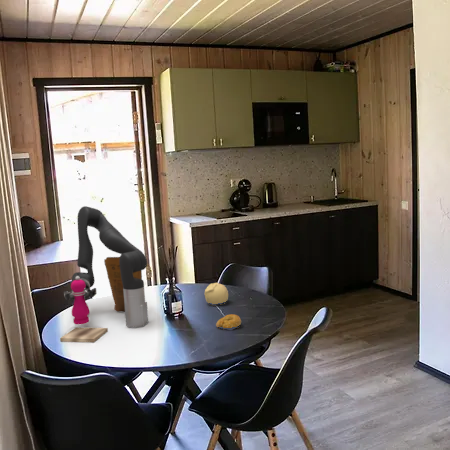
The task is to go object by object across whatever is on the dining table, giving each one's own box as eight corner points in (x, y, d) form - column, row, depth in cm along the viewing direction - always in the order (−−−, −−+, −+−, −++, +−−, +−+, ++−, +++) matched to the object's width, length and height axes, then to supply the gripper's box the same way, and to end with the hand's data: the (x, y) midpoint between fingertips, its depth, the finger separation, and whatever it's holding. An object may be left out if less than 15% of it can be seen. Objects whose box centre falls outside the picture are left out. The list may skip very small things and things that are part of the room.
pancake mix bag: (142, 314, 230) (137, 257, 226) (107, 312, 236) (102, 256, 232) (148, 310, 236) (144, 254, 233) (114, 308, 242) (110, 254, 239)
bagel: (216, 323, 211) (215, 313, 211) (241, 322, 211) (240, 312, 210) (215, 331, 201) (215, 320, 201) (241, 330, 201) (241, 320, 201)
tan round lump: (207, 300, 248) (206, 280, 246) (230, 300, 246) (229, 280, 245) (203, 307, 236) (201, 286, 235) (227, 307, 235) (225, 285, 233)
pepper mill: (85, 325, 198) (81, 278, 195) (69, 324, 199) (64, 278, 196) (93, 319, 205) (89, 274, 202) (77, 319, 206) (73, 273, 203)
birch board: (107, 331, 208) (107, 328, 208) (94, 342, 195) (93, 338, 195) (76, 330, 211) (75, 327, 211) (60, 341, 198) (60, 338, 198)
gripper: (63, 281, 212) (60, 291, 196) (97, 278, 215) (96, 288, 199) (65, 298, 213) (61, 309, 197) (98, 294, 216) (97, 305, 200)
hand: (79, 298), depth 198 cm, fingers closed on pepper mill, 4 cm apart
